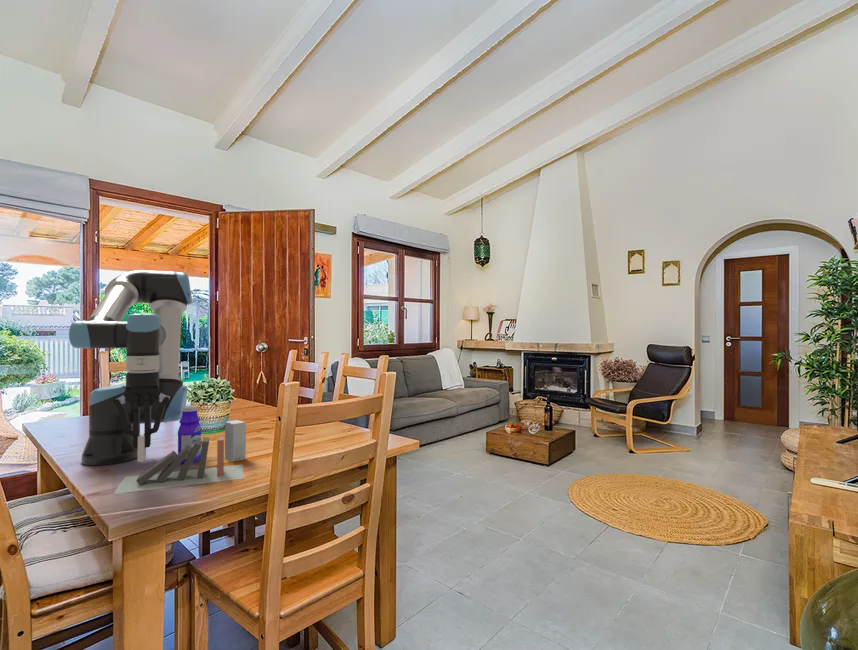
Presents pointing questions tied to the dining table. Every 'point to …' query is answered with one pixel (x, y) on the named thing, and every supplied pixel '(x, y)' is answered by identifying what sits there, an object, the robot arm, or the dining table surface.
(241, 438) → the skincare box
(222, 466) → the end domino
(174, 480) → the mat
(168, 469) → the domino
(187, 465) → the domino
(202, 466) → the domino
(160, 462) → the domino
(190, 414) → the bottle
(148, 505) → the dining table surface
